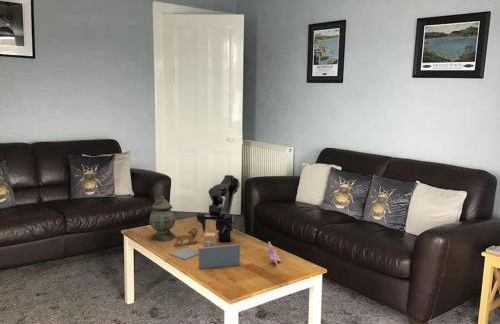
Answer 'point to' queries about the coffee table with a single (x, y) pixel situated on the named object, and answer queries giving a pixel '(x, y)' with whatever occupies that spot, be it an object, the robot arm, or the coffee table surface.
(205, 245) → the salmon pink tall block
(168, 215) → the lidded urn
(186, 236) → the lion figurine
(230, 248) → the screen
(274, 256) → the lily
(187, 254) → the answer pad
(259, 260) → the coffee table surface
